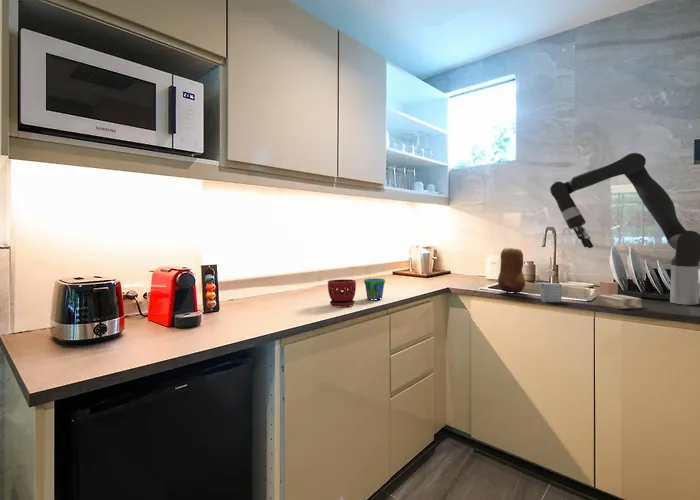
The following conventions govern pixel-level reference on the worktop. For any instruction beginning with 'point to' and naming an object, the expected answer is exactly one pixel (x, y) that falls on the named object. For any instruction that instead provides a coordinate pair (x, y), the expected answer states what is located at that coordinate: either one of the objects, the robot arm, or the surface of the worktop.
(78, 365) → the worktop surface
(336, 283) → the plant pot
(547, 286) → the medicine box
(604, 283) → the terracotta block
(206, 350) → the worktop surface
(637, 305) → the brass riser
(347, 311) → the worktop surface
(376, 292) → the blue green flowerpot
